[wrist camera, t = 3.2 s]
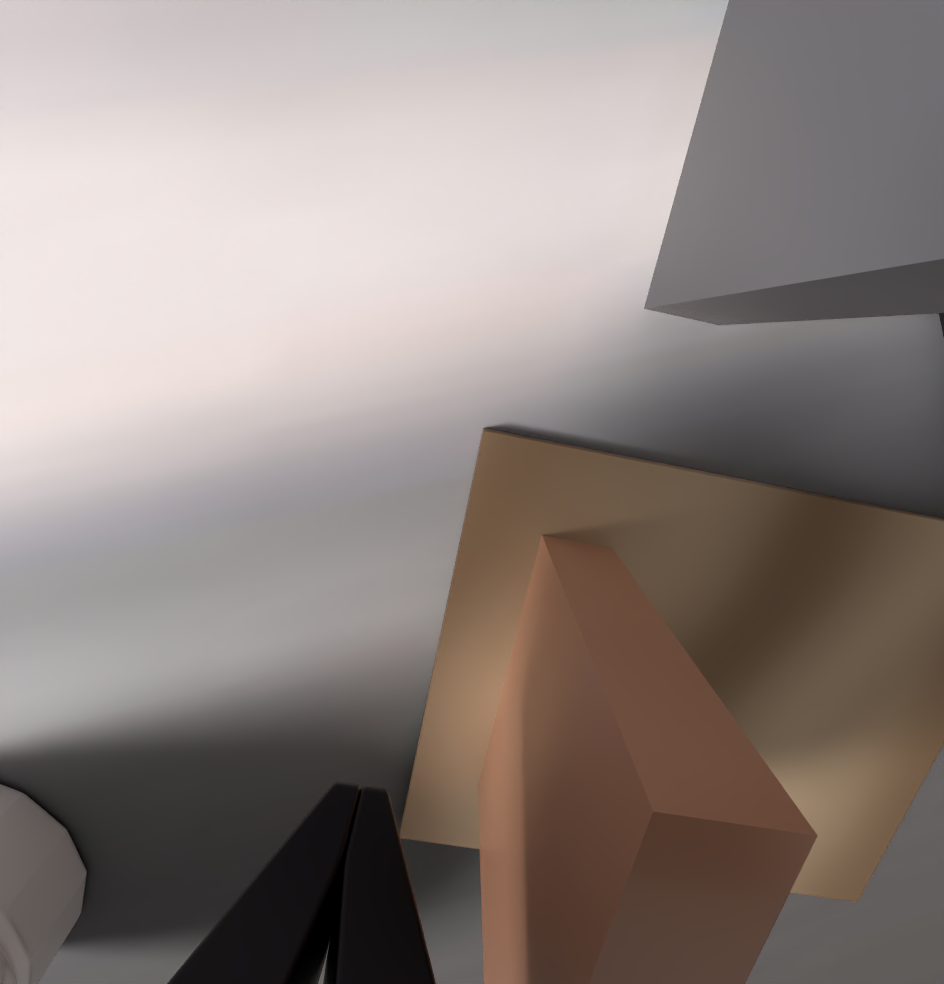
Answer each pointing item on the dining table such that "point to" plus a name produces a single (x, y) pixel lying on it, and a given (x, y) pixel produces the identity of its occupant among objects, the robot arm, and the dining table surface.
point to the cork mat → (712, 632)
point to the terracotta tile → (622, 799)
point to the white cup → (35, 887)
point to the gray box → (813, 168)
